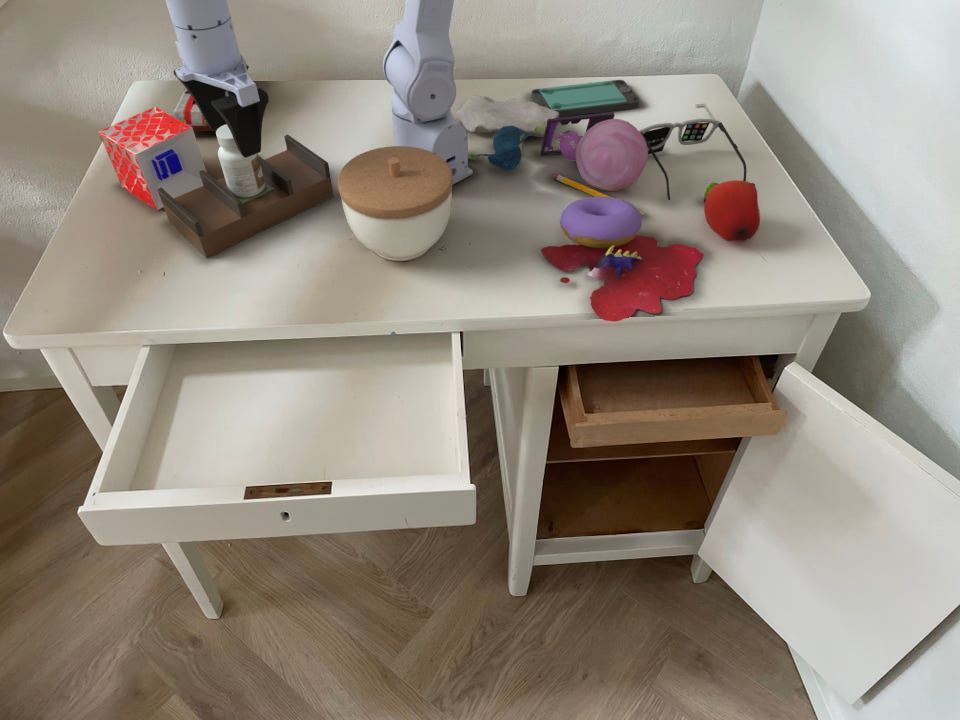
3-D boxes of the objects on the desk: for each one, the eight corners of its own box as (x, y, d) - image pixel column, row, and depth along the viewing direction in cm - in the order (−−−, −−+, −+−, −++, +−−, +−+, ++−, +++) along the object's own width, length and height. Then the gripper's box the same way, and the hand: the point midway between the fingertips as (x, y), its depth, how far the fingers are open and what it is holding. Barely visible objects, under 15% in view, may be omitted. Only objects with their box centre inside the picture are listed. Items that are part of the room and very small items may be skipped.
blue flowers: (477, 161, 101) (472, 193, 96) (463, 137, 98) (458, 168, 93) (555, 129, 96) (555, 161, 91) (543, 104, 94) (543, 135, 89)
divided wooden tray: (334, 196, 91) (328, 162, 87) (206, 258, 83) (194, 223, 79) (295, 168, 95) (287, 134, 92) (170, 223, 87) (156, 189, 83)
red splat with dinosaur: (655, 236, 91) (665, 203, 88) (729, 302, 81) (744, 268, 78) (532, 255, 84) (539, 220, 81) (598, 329, 74) (609, 293, 71)
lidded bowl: (456, 274, 81) (454, 192, 73) (345, 279, 80) (330, 196, 72) (452, 208, 89) (449, 128, 81) (351, 212, 89) (338, 131, 81)
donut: (632, 255, 78) (627, 213, 76) (553, 259, 83) (546, 219, 80) (651, 223, 86) (647, 184, 84) (578, 228, 90) (572, 191, 88)
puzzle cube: (174, 161, 96) (155, 106, 91) (210, 182, 93) (192, 127, 87) (121, 187, 92) (97, 131, 86) (156, 210, 89) (134, 154, 83)
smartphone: (641, 100, 106) (545, 111, 103) (639, 107, 107) (544, 119, 104) (622, 77, 111) (530, 87, 108) (621, 85, 112) (529, 95, 109)
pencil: (557, 175, 94) (556, 172, 93) (646, 213, 88) (646, 210, 88) (554, 180, 94) (553, 176, 93) (643, 218, 88) (643, 215, 88)
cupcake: (630, 94, 91) (616, 112, 83) (667, 151, 93) (656, 173, 85) (574, 135, 96) (556, 155, 88) (610, 188, 98) (596, 212, 90)
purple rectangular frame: (612, 107, 93) (546, 114, 92) (623, 139, 91) (555, 146, 90) (601, 142, 99) (538, 148, 98) (610, 172, 98) (547, 179, 96)
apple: (786, 226, 81) (761, 164, 86) (747, 205, 78) (724, 142, 83) (732, 264, 87) (712, 203, 92) (694, 246, 83) (675, 184, 88)
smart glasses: (696, 128, 101) (708, 99, 97) (741, 201, 94) (756, 173, 90) (618, 138, 99) (627, 108, 95) (659, 214, 92) (671, 185, 88)
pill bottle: (270, 192, 86) (256, 134, 80) (234, 202, 85) (217, 144, 79) (259, 174, 89) (244, 117, 83) (224, 184, 87) (206, 126, 82)
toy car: (172, 139, 100) (154, 87, 94) (205, 78, 112) (191, 29, 107) (227, 139, 100) (212, 87, 95) (254, 78, 112) (242, 29, 107)
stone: (472, 91, 107) (569, 100, 102) (472, 113, 109) (567, 123, 104) (443, 109, 99) (547, 120, 94) (444, 133, 101) (546, 145, 96)
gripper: (133, 6, 74) (174, 126, 84) (197, 54, 67) (233, 179, 77) (197, -11, 77) (229, 107, 87) (264, 33, 70) (291, 156, 80)
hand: (235, 139), depth 82 cm, fingers open, 7 cm apart
